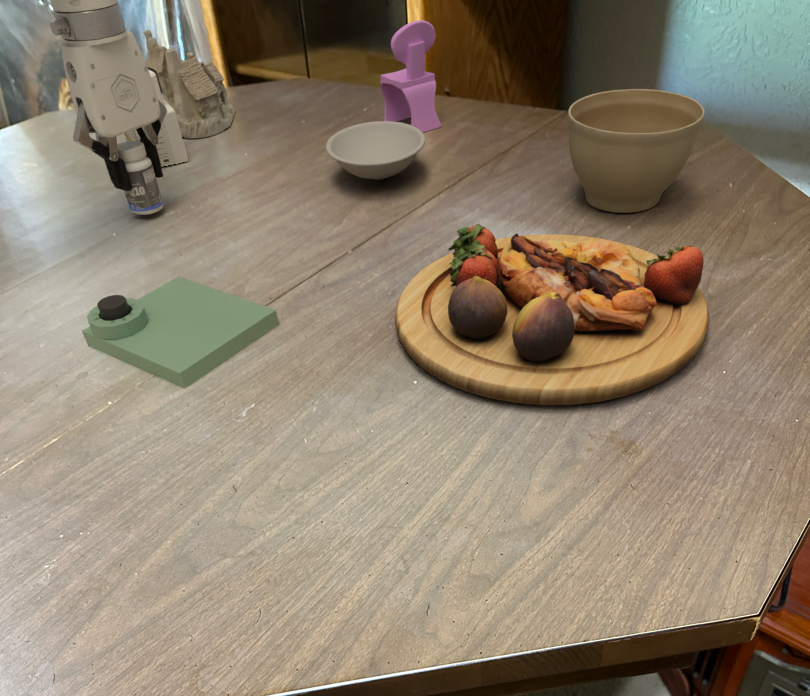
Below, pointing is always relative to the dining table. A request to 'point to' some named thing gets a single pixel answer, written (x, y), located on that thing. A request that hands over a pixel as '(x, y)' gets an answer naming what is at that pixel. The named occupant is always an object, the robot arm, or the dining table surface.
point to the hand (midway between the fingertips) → (139, 181)
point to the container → (166, 131)
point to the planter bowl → (631, 145)
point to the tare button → (113, 307)
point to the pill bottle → (140, 179)
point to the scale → (181, 330)
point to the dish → (376, 148)
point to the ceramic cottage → (191, 90)
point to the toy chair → (411, 78)
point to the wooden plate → (553, 317)
